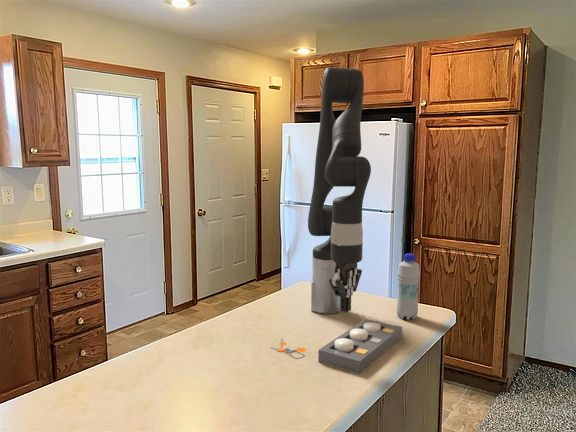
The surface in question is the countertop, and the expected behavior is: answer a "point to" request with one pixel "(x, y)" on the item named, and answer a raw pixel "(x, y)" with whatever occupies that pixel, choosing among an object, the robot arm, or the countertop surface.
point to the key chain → (289, 349)
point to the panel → (361, 348)
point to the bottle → (408, 287)
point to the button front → (344, 345)
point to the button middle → (359, 335)
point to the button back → (372, 327)
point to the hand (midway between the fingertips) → (345, 311)
